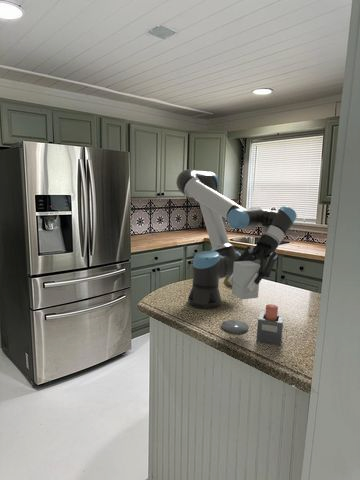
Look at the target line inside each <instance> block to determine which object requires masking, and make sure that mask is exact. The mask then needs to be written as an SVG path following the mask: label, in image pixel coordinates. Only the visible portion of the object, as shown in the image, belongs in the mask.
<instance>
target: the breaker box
mask: <svg viewBox="0 0 360 480" xmlns="http://www.w3.org/2000/svg"><path fill="white" fill-rule="evenodd" d="M265 313H266V312H263V311H260V313H259V315H258V318H257V326H256V327H257V328H256V342H259V341H260V343H264V342H265V343H264V344H269V343H270V345H274V344H276V345H275V346H280V345H282V339H283V328H284V320H285V319H284V315H282V314H277V321H273V320H267V319H265Z"/></svg>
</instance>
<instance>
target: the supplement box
mask: <svg viewBox="0 0 360 480" xmlns="http://www.w3.org/2000/svg"><path fill="white" fill-rule="evenodd" d="M259 268H260V263H256V262H255V261H238V262H234V267H233V285H232V286H231V289H232V290H231V294H232V295H234V296H235V297H237V298H239V299H240V300H249V299H250V300H251V299H258V298H259V291H260V290H259V288H260V283H259V284H256V286H255V288H254V289H253V291H252V292H250V291H249V290H248V288H247V286H248V285H249V283H250V282H251V280H252V278H253V277H254V275H255V274H256V273H258V272H259ZM258 274H259V273H258Z"/></svg>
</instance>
